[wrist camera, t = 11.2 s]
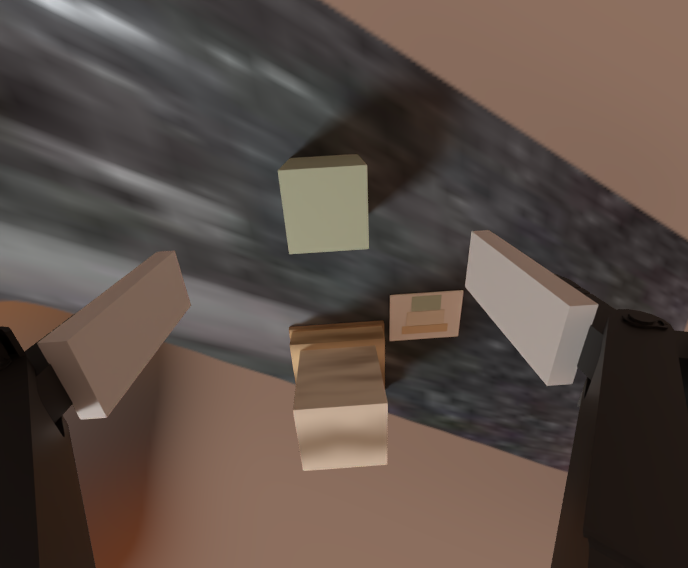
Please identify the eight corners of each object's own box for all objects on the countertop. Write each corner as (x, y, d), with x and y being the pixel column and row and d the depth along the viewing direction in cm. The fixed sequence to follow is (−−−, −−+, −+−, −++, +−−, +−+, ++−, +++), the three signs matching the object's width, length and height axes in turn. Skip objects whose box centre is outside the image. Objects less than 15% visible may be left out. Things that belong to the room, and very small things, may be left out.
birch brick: (300, 350, 35) (292, 410, 28) (375, 345, 35) (387, 403, 28) (307, 405, 38) (303, 470, 31) (376, 400, 39) (387, 464, 31)
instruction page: (389, 295, 36) (390, 296, 36) (462, 289, 36) (463, 291, 36) (389, 340, 38) (389, 341, 38) (457, 335, 39) (458, 336, 38)
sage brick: (289, 157, 29) (277, 170, 22) (357, 153, 29) (367, 165, 22) (297, 223, 32) (289, 254, 25) (359, 219, 32) (368, 248, 25)
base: (289, 326, 37) (286, 343, 34) (383, 320, 37) (387, 335, 35) (300, 396, 42) (298, 415, 39) (383, 390, 42) (387, 409, 39)
